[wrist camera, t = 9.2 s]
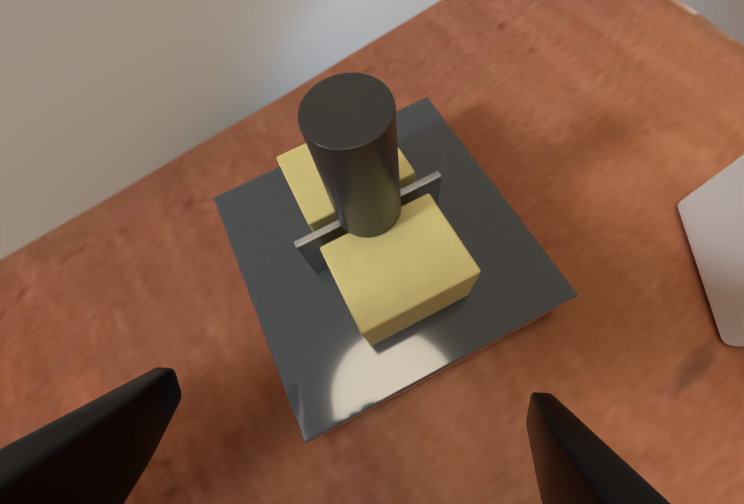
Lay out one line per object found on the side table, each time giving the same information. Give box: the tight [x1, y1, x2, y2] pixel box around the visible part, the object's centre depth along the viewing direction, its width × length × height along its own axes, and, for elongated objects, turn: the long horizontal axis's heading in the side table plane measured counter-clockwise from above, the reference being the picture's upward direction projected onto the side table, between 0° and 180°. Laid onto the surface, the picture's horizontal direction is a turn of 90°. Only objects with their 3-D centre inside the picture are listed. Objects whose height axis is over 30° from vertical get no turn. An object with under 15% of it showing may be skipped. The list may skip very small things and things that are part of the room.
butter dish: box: [214, 97, 577, 443], centre depth 18 cm, size 12×12×3 cm
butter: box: [277, 143, 481, 346], centre depth 15 cm, size 8×4×3 cm, turn 27°
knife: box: [294, 73, 442, 274], centre depth 13 cm, size 2×6×8 cm, turn 117°
